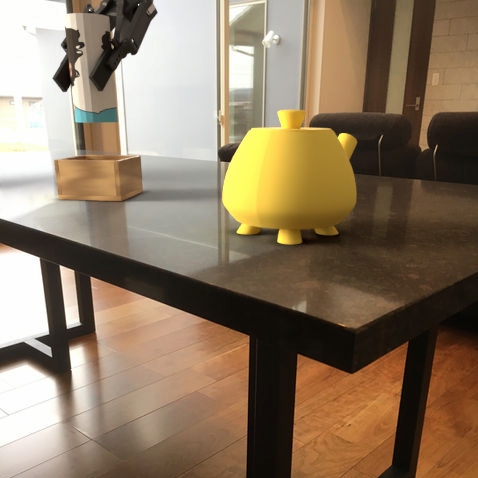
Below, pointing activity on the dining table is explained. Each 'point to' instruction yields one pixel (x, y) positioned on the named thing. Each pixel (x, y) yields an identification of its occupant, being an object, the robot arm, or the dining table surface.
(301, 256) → the dining table surface
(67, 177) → the box
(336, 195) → the teapot
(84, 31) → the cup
